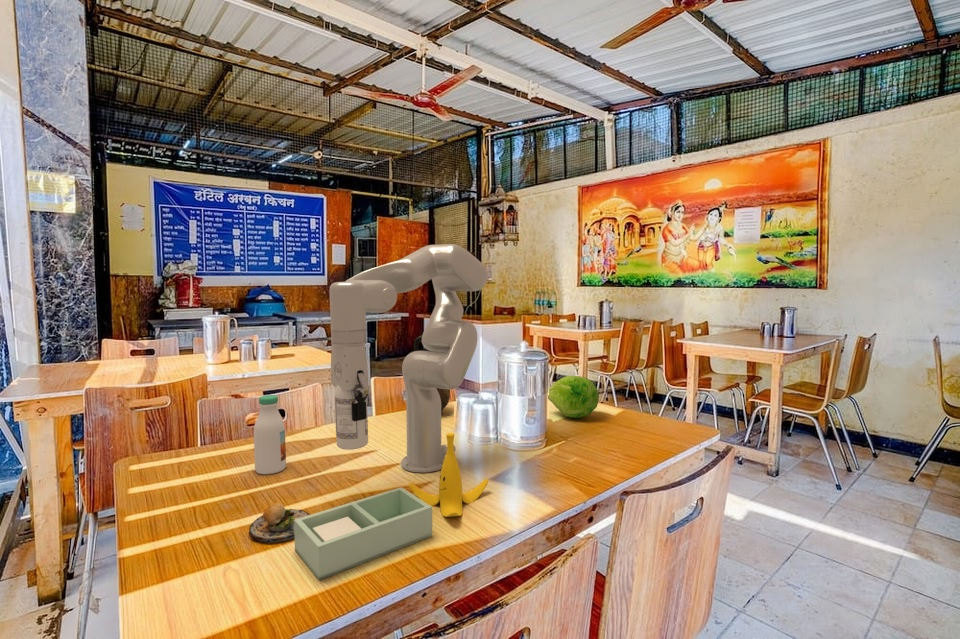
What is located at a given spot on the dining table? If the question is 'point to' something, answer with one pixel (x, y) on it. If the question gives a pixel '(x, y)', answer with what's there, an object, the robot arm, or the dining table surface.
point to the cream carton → (335, 529)
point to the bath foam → (349, 422)
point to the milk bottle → (269, 437)
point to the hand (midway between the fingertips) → (351, 415)
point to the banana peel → (450, 486)
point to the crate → (363, 531)
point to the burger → (275, 524)
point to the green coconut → (574, 396)
